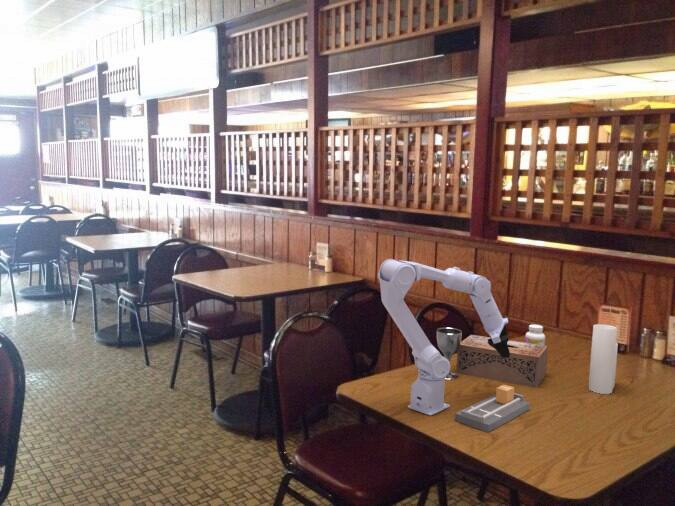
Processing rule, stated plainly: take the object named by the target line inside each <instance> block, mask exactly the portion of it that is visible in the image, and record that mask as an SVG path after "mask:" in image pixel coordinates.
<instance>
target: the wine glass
mask: <svg viewBox="0 0 675 506" xmlns="http://www.w3.org/2000/svg"><path fill="white" fill-rule="evenodd" d="M462 333H463V332H462V330H461V329H458V328H454V327H439V328H437V329H436V341H437V342H436V343H437V347H438V349H439V350H440V351H441V353H442V354H443V355H444V357H445V358H446V359H448V361H449V362H450V363H451V359H452V356H454V355H455V353H456V352H458V349H459V347H460V344H461V342H462V338H463V337H462V336H463V334H462ZM459 377H460V376H459V375H458V373H455V372H451V371H450V372H449V374H448V375H447V376H446V378H445V380H455V379H456V380H457V379H458V378H459Z"/></svg>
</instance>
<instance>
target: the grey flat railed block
mask: <svg viewBox="0 0 675 506" xmlns="http://www.w3.org/2000/svg"><path fill="white" fill-rule="evenodd" d="M530 407H531V402H528V401H525V395H523V394H519V393H516V392H514V400H513V401H511V402H509V403H507V404H502V403H499V402H496V393H495V394H493V395H490V396H489V397H487V398H484V399H482V400H480V401H478V402H476V403H473V404H471V405H470V406H468V407H466V408H463V409H462V410H459V411H457V412H455V414H454V421H455V422H457V423H460V424H463V425H465V426H469V427H472V428H475V429H477V430H480V431H483V432H485V433H490V432H492V431H494V430H496V429H498V428H499V427H501V426H503V425H504V424H506V423H508V422H510V421H512V420H513V419H515V418H518V416H520V415H522V414H525V413H526V412H527V411H529V410H530Z"/></svg>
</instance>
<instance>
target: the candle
mask: <svg viewBox="0 0 675 506" xmlns="http://www.w3.org/2000/svg"><path fill="white" fill-rule="evenodd" d="M617 337H618V327H616V326H614V325H609V324H604V323H603V324H602V323H601V324H600V323H599V324H598V323H597V324H593V328H592V337H591V351H590V364H589V375H588V376H589V377H588V390H589V391H590V390H591V391H590V392H592V391H593V393H595V392H596V393H595V394H599V393H600V394H599V395H611V394H613V389H614V388H615V384H616V383H615V382H616V373H617V362H618V361H617V359H618V358H617V357H618V346H619V344H618V342H617ZM610 393H611V394H610Z"/></svg>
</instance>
